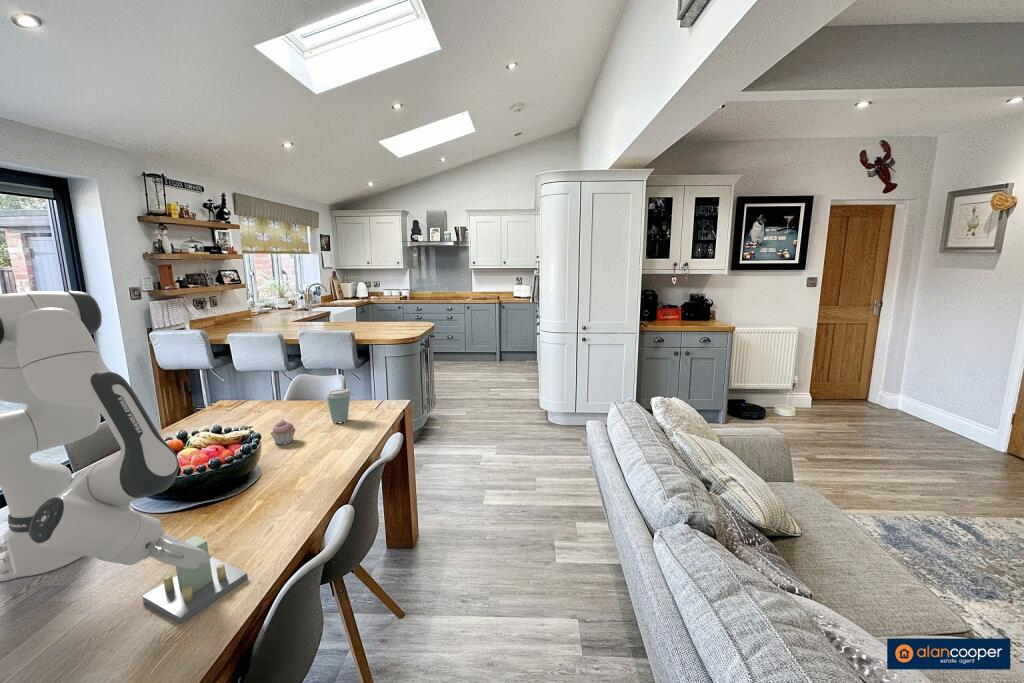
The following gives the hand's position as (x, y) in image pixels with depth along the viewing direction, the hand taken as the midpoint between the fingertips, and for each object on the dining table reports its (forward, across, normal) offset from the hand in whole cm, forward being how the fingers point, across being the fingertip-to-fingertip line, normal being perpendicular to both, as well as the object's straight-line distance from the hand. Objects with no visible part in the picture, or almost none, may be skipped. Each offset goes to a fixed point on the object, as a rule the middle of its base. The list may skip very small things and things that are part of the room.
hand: (194, 553), depth 95 cm
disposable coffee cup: (+70, +52, -58) cm, 105 cm away
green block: (+5, 0, +6) cm, 7 cm away
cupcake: (+51, +55, -38) cm, 84 cm away
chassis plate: (+6, 0, +7) cm, 9 cm away
